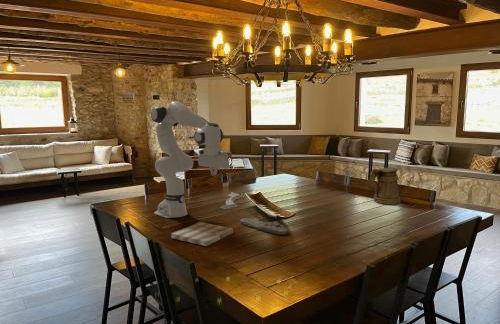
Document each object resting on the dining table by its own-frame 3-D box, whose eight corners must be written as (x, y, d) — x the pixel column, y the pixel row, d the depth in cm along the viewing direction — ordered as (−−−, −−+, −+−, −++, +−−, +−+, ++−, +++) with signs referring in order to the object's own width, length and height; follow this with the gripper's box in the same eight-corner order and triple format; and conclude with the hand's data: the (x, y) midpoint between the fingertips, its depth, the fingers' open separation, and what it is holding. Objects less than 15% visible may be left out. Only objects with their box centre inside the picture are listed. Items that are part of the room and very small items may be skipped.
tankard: (405, 204, 276) (407, 169, 272) (376, 206, 270) (378, 171, 266) (390, 197, 293) (392, 165, 289) (362, 200, 287) (364, 167, 283)
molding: (228, 195, 307) (228, 191, 307) (243, 195, 306) (243, 192, 305) (218, 210, 265) (218, 206, 265) (236, 210, 264) (236, 206, 264)
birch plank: (171, 237, 210) (171, 233, 210) (185, 231, 220) (185, 227, 220) (206, 246, 198) (206, 241, 197) (219, 239, 208) (219, 235, 207)
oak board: (186, 231, 221) (186, 227, 220) (199, 225, 231) (199, 221, 230) (220, 239, 208) (220, 234, 208) (232, 232, 218) (232, 228, 218)
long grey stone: (247, 222, 241) (236, 227, 234) (246, 214, 241) (235, 219, 233) (292, 232, 218) (281, 237, 211) (292, 223, 217) (281, 228, 210)
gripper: (231, 151, 221) (231, 175, 223) (203, 149, 231) (203, 172, 233) (224, 153, 215) (225, 177, 217) (196, 150, 226) (196, 174, 228)
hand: (213, 174), depth 225 cm, fingers closed
